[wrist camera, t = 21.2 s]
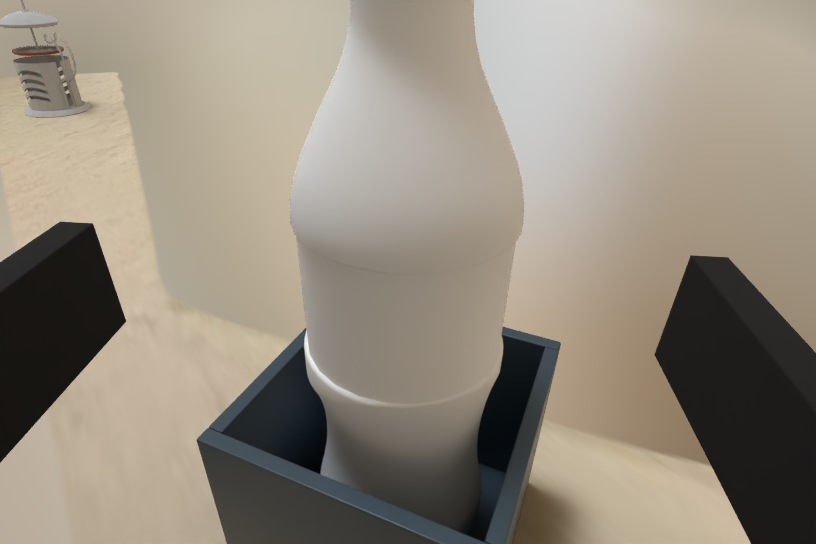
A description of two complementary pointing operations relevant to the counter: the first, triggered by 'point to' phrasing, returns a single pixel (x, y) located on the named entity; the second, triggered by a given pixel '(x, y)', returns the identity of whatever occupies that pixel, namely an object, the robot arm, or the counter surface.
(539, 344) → the tub
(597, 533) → the counter surface
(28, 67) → the french press
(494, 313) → the water bottle
